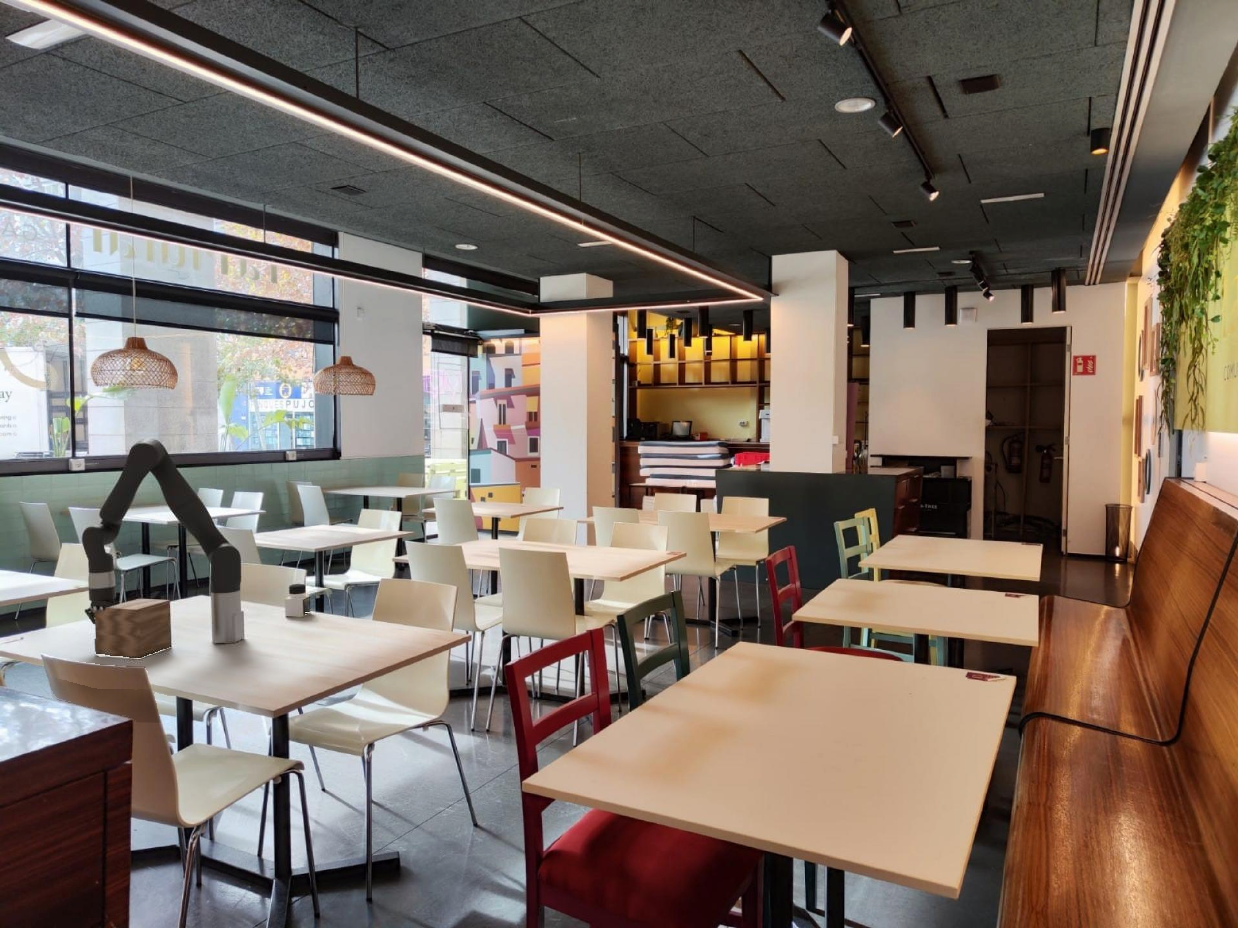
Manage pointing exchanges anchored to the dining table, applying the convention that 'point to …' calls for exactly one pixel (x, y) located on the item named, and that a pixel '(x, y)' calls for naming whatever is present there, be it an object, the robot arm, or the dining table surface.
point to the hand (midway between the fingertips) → (104, 637)
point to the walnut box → (133, 628)
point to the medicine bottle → (297, 601)
